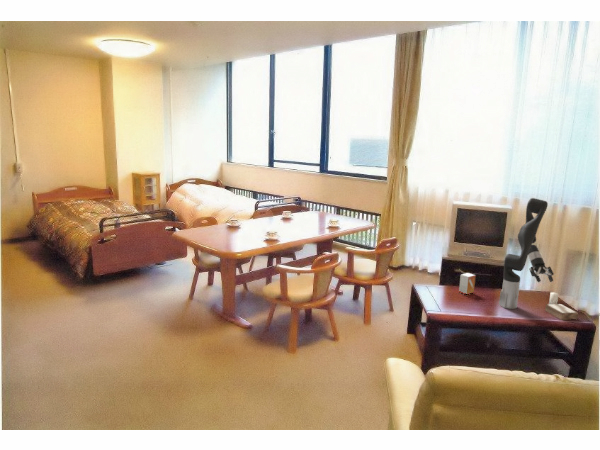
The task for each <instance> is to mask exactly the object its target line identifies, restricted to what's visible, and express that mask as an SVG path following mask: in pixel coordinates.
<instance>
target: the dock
mask: <svg viewBox="0 0 600 450" xmlns="http://www.w3.org/2000/svg"><path fill="white" fill-rule="evenodd" d="M544 310H545V312H546V313H549V314H550V315H552V316H554V317H555V318H557V319H559V320H560V321H565V320H566V321H569V320H571V319H576V320H578V316H579V313H578V312H577V311H576V310H573V309H571V308H569V307H567V306H565V305H564V304H561V303H557V304H549V303H548V304H545V309H544Z"/></svg>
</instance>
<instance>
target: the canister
mask: <svg viewBox="0 0 600 450" xmlns="http://www.w3.org/2000/svg"><path fill="white" fill-rule="evenodd" d="M558 300H559V293H558V292H556V291H555V292H552V291H550V293H549V301H548V304H558V302H559V301H558Z"/></svg>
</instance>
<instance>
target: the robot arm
mask: <svg viewBox="0 0 600 450" xmlns="http://www.w3.org/2000/svg"><path fill="white" fill-rule="evenodd" d="M548 204H549V203H548V201H546V200H544V199H540V198H535V197H531V198H530V199H529V200H528V202H527V204H526V208H525V210H526V211H525V224H523V225H522V226H521V227H520V229H519V232H518V234H517V240H518V243H519V246H520V254H519V255H518V254H511V253H508V254H506V255H505V258H504V263H503V280H502V281H503V282H502V286H501V287H502V289H501V290H500V294H499V301H498V305H499V306H501V307H502V308H503V309H509V310H516V309H517V307H518V300H519V293H520V283H521V276H520V275H518V274H517V273H515V272H514V271H517V272H521V271H523V270H524V268H525V266H526V263H527V260H528V259H529V261H530V264H531V267H530V268H529V272H530V274H531V276H532V277H534V278H535V279H536V282H537V283H541V281H542V279H541V277H540V276H539V275H544V276H546V277H547V279H548V280H549V283H552V282H554V278H553V276H554V274H555V273H554V271H553V269H552V268H551V266H546V263H545V261H544V259H543V256H542V254H541V253H540V250H539V248H538V247H537V245H535V243H536V242H537V237H536V236H537V232H538V229H539V227H540V224H541V222H542V220H543V218H544V216H545V213H546V212H547V209H548V206H549V205H548ZM533 214H536V215H535V217H534V215H533Z"/></svg>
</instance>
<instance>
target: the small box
mask: <svg viewBox="0 0 600 450" xmlns="http://www.w3.org/2000/svg"><path fill="white" fill-rule="evenodd" d="M476 276H477V275H476V274H472V273H470V272H466V273H465V272H464V273H462V274H460V276H459V277H460V278H459V289H458V292H459V291H461V292H463V293H466V294H468V293H472V292H475V286H476V285H475V284H476Z"/></svg>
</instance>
